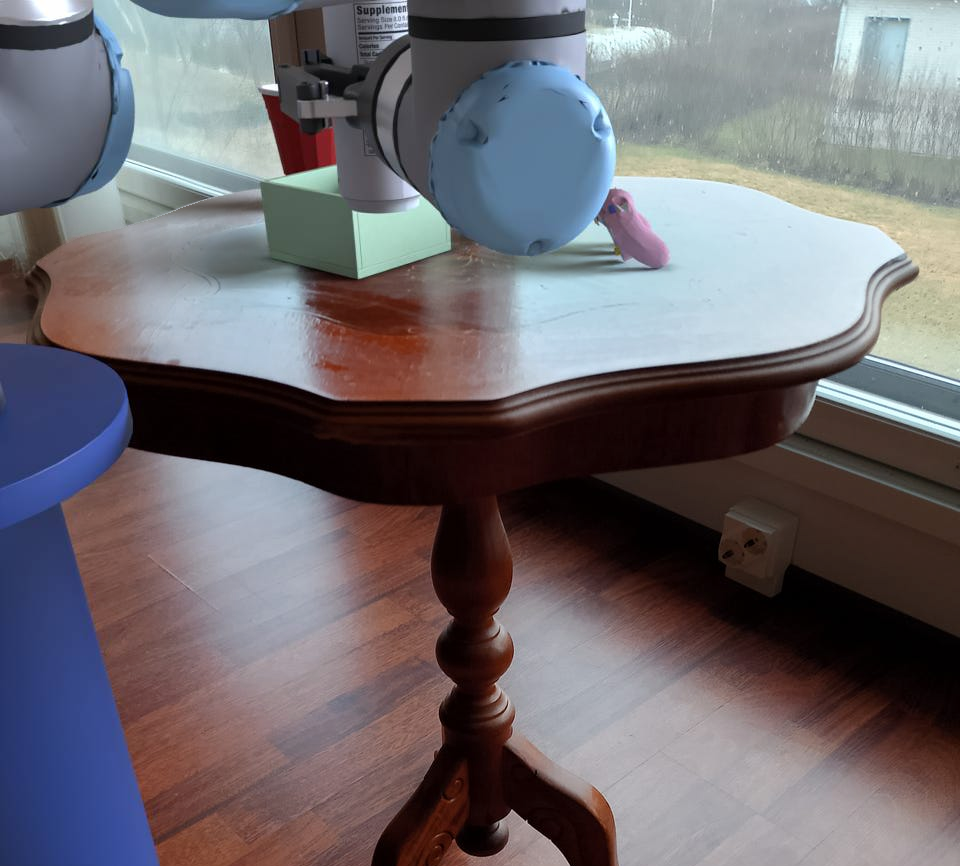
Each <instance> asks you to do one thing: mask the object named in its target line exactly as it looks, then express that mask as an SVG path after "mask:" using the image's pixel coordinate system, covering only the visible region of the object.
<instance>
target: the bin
mask: <svg viewBox="0 0 960 866" xmlns="http://www.w3.org/2000/svg"><path fill="white" fill-rule="evenodd" d="M259 186H260V187H259V188H260V195H261V201H262V209H263V217H264V225H265V233H266V240H267V247H268V254H269V258H270V259H273V260H274V259H275V260H278V261H282V262H286V263H290V264H294V265H299V266H302V267H306V268H310V269H315V270H319V271H323V272H326V273H331V274H335V275H339V276H343V277H346V278H351V279H354V280H361V279H364V278H367V277H370V276H372V275H373V276H374V275H376V274H379V273H383V272H386V271H390V270H392V269H395V268H399V267H401V266H406V265H407V264H411V263H414V262H417V261H421V260H424V259H426V258H430V257H434V256H436V255H439V254H442V253H445V252H448V251H451V250H452V246H451V245H452V243H451V226H450V225H448V224H447V222H446V221H445V220H444V218H443V217H442V216H441V214H440V212H439V211H438V210H437V209H436V208H435V207H434V206H433V205H432V204H431V203H430V202H429V201H428V200H426V199H425V198H424V197H423V196H422V195H421V196H420V198H419V205H418V206H417V207H416V208H413V209H411V210H407V211H402V212H396V213H383V214H372V213H361V212H356V211H353V210H351V209H349V207H348V202H347V200H346V199H345V198H344V197H342V196H341V195H340V193H339V185H338V174H337V164H336V165H331V166H327V167H322V168H318V169H313V170H309V171H304V172H300V173H295V174H291V175H286V176H285V175H282V176H279V177H273V178H269V179H265V180H260V181H259Z"/></svg>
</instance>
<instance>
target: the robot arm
mask: <svg viewBox="0 0 960 866" xmlns="http://www.w3.org/2000/svg"><path fill="white" fill-rule="evenodd" d="M129 1H130V2H131V3H133V4H134V5H136V6H138V7H139V8H142V9H144V10H146V11H148V12H150V13H153V14H156V15H159V16H163V17H166V18H176V19H177V18H178V19H197V20H203V19H204V20H206V19H207V20H213V19H214V20H215V19H216V20H217V19H221V20H222V19H225V20H227V19H237V20H243V21H256V22H257V21H267V20H274V19H275V18H277V17H279V16H282V15H283V16H284V15H286V14H290V13H292V12H297V11H304V10H312V9H318V8H322V7H327V6H334V5H341V4H349V3H356V2H363V1H376V0H129ZM94 8H95V7H94V0H0V217H3V216H6V215H11V214H16V213H20V212H24V211H25V212H26V211H28V210H33V209H38V208H39V209H52V208H56V207H60V206H63V205H65V204H67V203H69V202H70V201H72V200H74V199H77V198H78V197H81V196H85V195H90V194H93V193H94V192H97V191H99V190H100V189H102V188H104V186H106V185H108V184H109V183H110V182H111V181H112V180H113V179H114V178H115V177H116V176H117V175H118V173H119V171H120V170H121V169H122V167H123V165H124V164H125V162H126V159H127V157H128V155H129V152H130V149H131V145H132V141H133V137H134V130H135V119H136V105H135V104H136V102H135V91H134V85H133V81H132V75H131V72H130V71H129V69H128V68H124V67H122V62H121V61H122V59H123V56H124V52H123V49H122V47H121V45H120V43H119V41H118V40H117V37H116V36H115V34H114V33H113V31H112V29H111V28H110V27H109V26H108V24H107V23H106V22H105V21H104V19H102V18H101V16H100V15H98V14H97V13H96V12H95V11H94ZM586 8H587V0H407V10H408V34H406V35H403V36H401V37H400V38H398V39H396V40H395V41H393V42H392V43H390V44H389V45H388V46H387V47H386V48H385V49H384V50H383V51H382V52H381V53H380V54H379V55H378V57H377V58H376V59H375V61H374V62H373V63H367V64H357V65H353V66H352V69H351V68H346V67H341V66H335V65H332V63H331V58H329V57H328V56H327V54H325V53H323V52H321V49H319V48H304V49H302V50H301V59H302V60H301V61H302V66H295V65H291V64H290V63H281V64H278V66H275V73H276V84H278V92H279V101H280V108H281V111H282V112H284V113H285V114H286V115H288V116H289V117H291V118H292V119H294V120H295V121H297V122H298V123H299V124H300V132H301V133H306V134H307V135H316V134H317V133H318V132H321V131H322V130H323V129H330V128H332V119H331V118H338V117H345V120H346V122H347V124H348V125H349V126H350V127H352V128H355V129H360V130H363V131H364V133H365V135H366V138H367V140H368V142H369V144H370V145H371V147H372V149H373V150H374V152H375V153H376V155H377V156H378V157H379V159H380V160H381V161H382V162H383V163H384V164H385V165H386V166H387V167H388V168H389V169H391V170H392V171H393V172H394V173H395V174H396V175H397V176H399V177H400V178H401V179H403V180H404V181H405V182H407V183H408V184H409V185H410V186H411V187H413V188H414V189H415V190H416V191H417V192H419V193H420V194H421V195H422V196H423V197H424V198H425V199H426V200H428V201H429V202H430V203H431V204H432V205H433V206H434V207H435V208H436V209H437V210H438V211H439V212H440V214H441V216H442V217H443V218H444V220H445V221H446V222H447V224H448V225H450V228H452V229H453V230H456V232H457V233H458V234H459V235H461V236H463V237H465V238H467V239H469V240H471V241H473V242H476V243H477V244H479V245H481V246H483V247H486V248H488V249H489V250H492V251H495V252H498V253H499V254H504V255H508V256H513V257H514V256H515V257H529V258H530V257H531V258H532V257H536V256H539V255H543V254H547V253H550V252H554V251H556V250H558V249H560V248H562V247H564V246H566V245H567V244H569V243H570V242H572V241H573V240H575V239H576V238H577V237H579V236H580V235H581V234H582V233H583V232H584V231H585V230H586V229H587V228H588V227H589V226H590V225H591V223H592V222H594V220H593V219H594V218H595V217H596V216H597V214H598V213H599V211H600V209H601V208H602V206H603V203H604V202H605V200H606V198H607V195H608V193H609V190H610V189H611V186H612V184H613V179H614V176H615V170H616V164H617V163H616V162H617V147H616V138H615V134H614V130H613V126H612V124H611V121H610V118H609V115H608V113H607V111H606V109H605V108H604V106H603V104H602V101H601V100H600V98H599V97H598V96H597V95H596V93H595V92H594V91H593V90H592V87H590V85H589V84H588V83H587V82H586V71H587V69H586V66H587V65H586V64H587V29H586V26H585V25H586V10H585V9H586ZM5 406H6V401H5V397H4V393H3V390H2V386H1V383H0V416H1V415H2V413H3V412H4V409H5Z"/></svg>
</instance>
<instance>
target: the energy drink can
mask: <svg viewBox="0 0 960 866" xmlns="http://www.w3.org/2000/svg"><path fill="white" fill-rule="evenodd" d="M321 9H322V11H321V12H322V19H323V20H322V21H323V30H324V40H325V41H324V42H325V52H326V54H325V55H326V56H328V57H329V58H331V63H332V65H335V66H341V67H346V68H351V69H352V66H353V65H357V64H367V63H373V62H374V61H375V59H376V58H377V57H378V55H379V54H380V53H381V52H382V51H383V50H384V49H385V48H386V47H387V46H388V45H389V44H390V43H392V42H393V41H395V40H396V39H398V38H400V37H401V36H403V35H406V34H408V10H407V0H376V1H363V2H356V3H349V4H341V5H334V6H327V7H321ZM332 120H333V130H334V141H335V152H336V163H337V174H338V185H339V193H340V195H341V196H342V197H344V198H345V199H346V200H347V202H348V207H349V209H351V210H353V211H356V212H361V213H372V214H383V213H396V212H402V211H407V210H411V209H413V208H416V207H417V206H418V205H419V198H420V196H421V194H420V193H419V192H417V191H416V190H415V189H414V188H413V187H411V186H410V185H409V184H408V183H407V182H405V181H404V180H403V179H401V178H400V177H399V176H397V175H396V174H395V173H394V172H393V171H392V170H391V169H389V168H388V167H387V166H386V165H385V164H384V163H383V162H382V161H381V160H380V159H379V157H378V156H377V155H376V153H375V152H374V150H373V149H372V147H371V145H370V144H369V142H368V140H367V138H366V135H365V133H364V131H363V130H360V129H355V128H352V127H350V126H349V125H348V124H347V122H346V120H345V117H338V118H332Z"/></svg>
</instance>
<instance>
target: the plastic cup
mask: <svg viewBox="0 0 960 866" xmlns="http://www.w3.org/2000/svg"><path fill="white" fill-rule="evenodd" d="M257 90H258V93H260V94H261V97H262V100H263V102H264V106H265V109H266V112H267V116H268V120H269V122H270V125H271V129H272V133H273V137H274V140H275V145H276V148H277V153H278V156H279V159H280V164H281V167H282V171H283V174H284V176H286V175H291V174H295V173H300V172H304V171H309V170H313V169H318V168H322V167H327V166H331V165H336V164H337V163H336V152H335V141H334V130H333V120H332V128H330V129H323V130H322V131H321V132H318V133H317V134H316V135H307V134H306V133H301V132H300V124H299V123H298V122H297V121H295V120H294V119H292V118H291V117H289V116H288V115H286V114H285V113H284V112H282V111H281V108H280V101H279V92H278V84H277V83H270V84H262V85H259V86H257ZM331 119H332V118H331Z"/></svg>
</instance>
